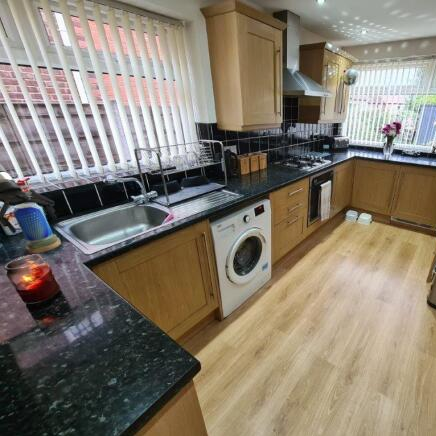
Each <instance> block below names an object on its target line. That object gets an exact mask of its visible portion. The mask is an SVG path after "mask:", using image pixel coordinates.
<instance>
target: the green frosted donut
mask: <svg viewBox="0 0 436 436" xmlns="http://www.w3.org/2000/svg"><path fill="white" fill-rule="evenodd" d="M61 244H62V241H61V239H60V237H58V236H57V235H56V233H53V234H52V237H51V238H50V239H48V240H45V241H42V242H36V243H32V242H30V241H28V240H26V241H25V245H26V246H25V249H26V251H27V253H29V254H40V253H45V252H48V251H52V250H54V249H56V248H58V247H60V246H61Z"/></svg>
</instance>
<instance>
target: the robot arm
mask: <svg viewBox="0 0 436 436" xmlns="http://www.w3.org/2000/svg"><path fill="white" fill-rule="evenodd" d="M32 197H33V198H32ZM30 202H34V203H36V204H37V205H38V206H40V207H41V208H45V211H46V212H47V214H48V215H49V216H50V217H51V218H52V219H53V220H54V221H58V216H57V214H56V213H55V212H56V209H54V206H55V201H54V200H52V199H50V198H48V197H46V196H44V195H42V194H40V193H38V192H36V191H35V190H34V189H33V188H30V189H29V190H28V191H24V190H23V189H22V188H21V187H20V186H19V184H18V183H17V182H16V181H15V180H14V178H13V177H12V176H11V174H9V172H8V171H7V170H6V169H5V167H4V166H3V165H2V163H0V203H3V205H2V207H1V208H0V225H1V226H2V227H4V228H6V227H7V228H8V229H9V230H10V231H11V233H12V234H16V233H17V230H16V228H15V227H14V225H12V223H11V222H10V221H9V220H8V218H7V217H6V216H5V215H6V213H7V212H8V210H9V208H10V206H16V205H19V204H23V203H30Z"/></svg>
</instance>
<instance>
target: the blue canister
mask: <svg viewBox="0 0 436 436" xmlns="http://www.w3.org/2000/svg"><path fill="white" fill-rule="evenodd" d="M12 214H13V216H14V217H15V220H16V223H17V224H18V226H19V227H20V230H21V232H22V234H23V235H24V237H25V240H26V241H30V242H32V243H36V242H42V241H45V240H48V239H50V238H51V237H52V234H54V233H53V230H52V227H51V226H50V224H49V221H48V219H47V217H46V215H45V213H44V211H43V207H42V206H38V205H37V204H36V203H34V202H30V203H26V202H23V203H21V204H17V205H13V212H12Z"/></svg>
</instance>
